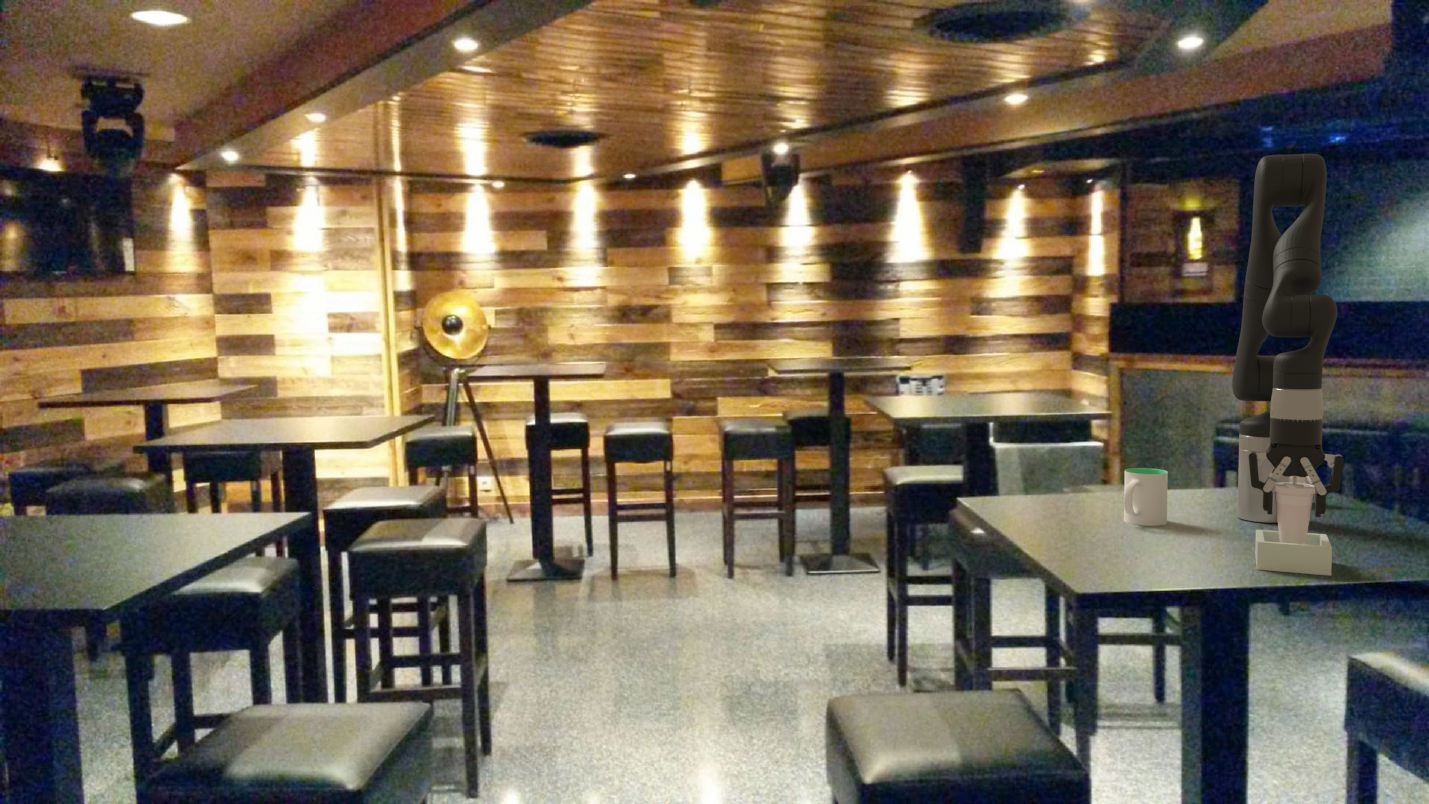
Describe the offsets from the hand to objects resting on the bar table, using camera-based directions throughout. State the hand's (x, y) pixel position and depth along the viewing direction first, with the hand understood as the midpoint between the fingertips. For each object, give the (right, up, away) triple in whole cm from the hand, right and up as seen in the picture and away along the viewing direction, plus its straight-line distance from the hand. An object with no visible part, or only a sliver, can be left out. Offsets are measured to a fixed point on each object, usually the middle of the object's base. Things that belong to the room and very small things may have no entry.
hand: (1293, 514), depth 168 cm
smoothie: (0, -5, 0) cm, 5 cm away
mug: (-10, -6, +36) cm, 38 cm away
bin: (0, -8, +1) cm, 9 cm away
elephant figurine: (+29, -4, +54) cm, 62 cm away
